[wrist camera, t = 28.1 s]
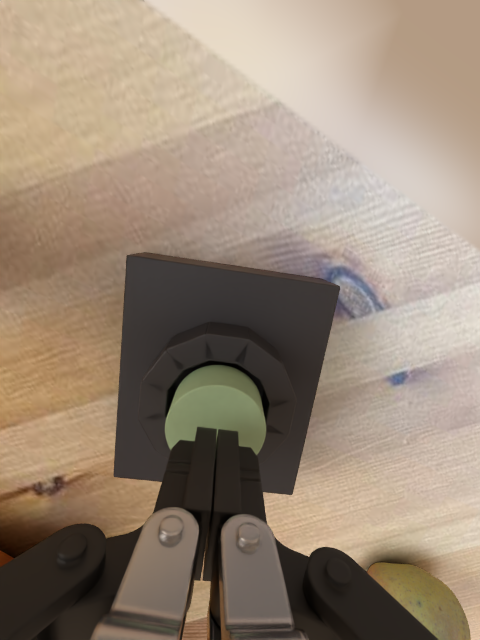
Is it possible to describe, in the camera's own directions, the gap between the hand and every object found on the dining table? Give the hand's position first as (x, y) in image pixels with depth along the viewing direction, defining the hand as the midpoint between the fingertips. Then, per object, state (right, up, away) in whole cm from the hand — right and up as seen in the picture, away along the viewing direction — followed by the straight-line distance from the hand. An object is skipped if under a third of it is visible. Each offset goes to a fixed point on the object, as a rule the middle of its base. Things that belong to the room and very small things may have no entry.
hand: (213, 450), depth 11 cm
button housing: (0, +2, +7) cm, 8 cm away
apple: (+11, -14, +12) cm, 22 cm away
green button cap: (0, +1, +3) cm, 3 cm away
